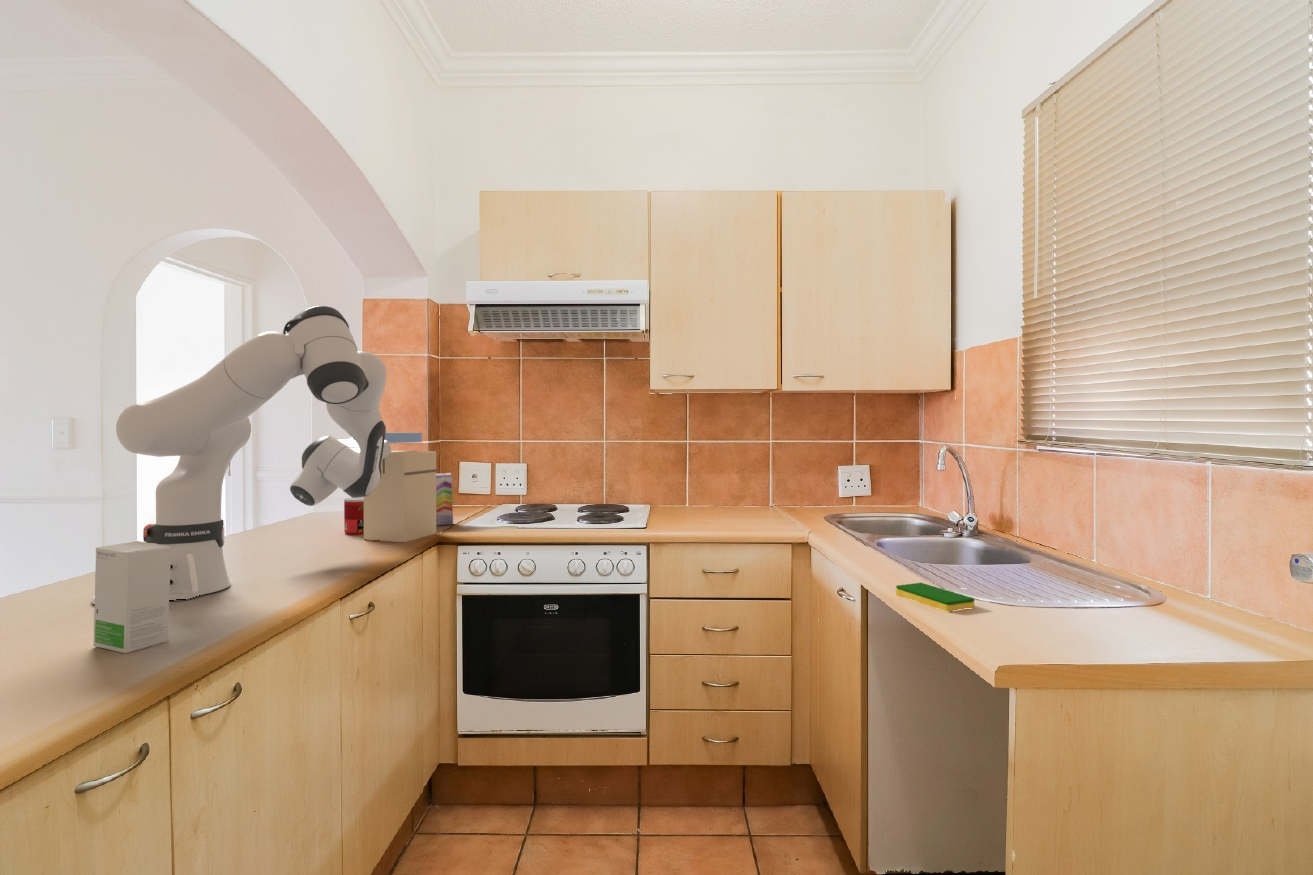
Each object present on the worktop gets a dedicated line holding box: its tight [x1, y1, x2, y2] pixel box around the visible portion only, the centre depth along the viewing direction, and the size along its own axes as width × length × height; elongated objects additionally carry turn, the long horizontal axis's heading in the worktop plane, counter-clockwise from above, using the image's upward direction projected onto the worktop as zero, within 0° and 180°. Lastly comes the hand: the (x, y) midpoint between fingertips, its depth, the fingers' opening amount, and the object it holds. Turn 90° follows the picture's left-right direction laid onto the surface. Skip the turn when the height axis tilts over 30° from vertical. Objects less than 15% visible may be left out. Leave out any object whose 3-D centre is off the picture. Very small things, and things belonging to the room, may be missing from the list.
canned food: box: [343, 497, 364, 536], centre depth 207 cm, size 8×8×11 cm
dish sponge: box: [895, 582, 975, 612], centre depth 131 cm, size 7×14×2 cm, turn 23°
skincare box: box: [93, 541, 171, 654], centre depth 103 cm, size 8×7×16 cm
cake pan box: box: [436, 472, 454, 526], centre depth 223 cm, size 19×5×18 cm, turn 111°
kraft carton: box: [363, 450, 437, 543], centre depth 201 cm, size 16×14×26 cm
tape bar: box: [385, 432, 423, 444], centre depth 197 cm, size 25×4×3 cm, turn 166°
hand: (370, 436), depth 188 cm, fingers closed on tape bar, 4 cm apart
